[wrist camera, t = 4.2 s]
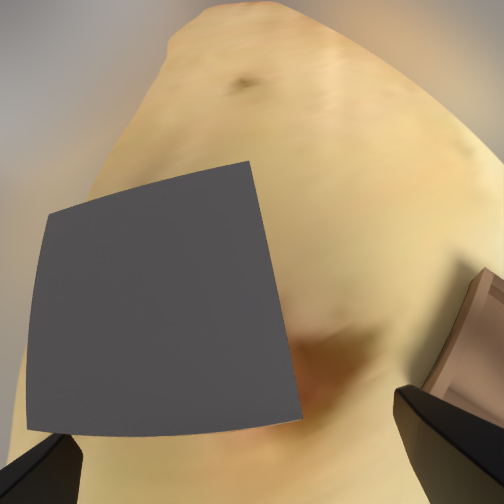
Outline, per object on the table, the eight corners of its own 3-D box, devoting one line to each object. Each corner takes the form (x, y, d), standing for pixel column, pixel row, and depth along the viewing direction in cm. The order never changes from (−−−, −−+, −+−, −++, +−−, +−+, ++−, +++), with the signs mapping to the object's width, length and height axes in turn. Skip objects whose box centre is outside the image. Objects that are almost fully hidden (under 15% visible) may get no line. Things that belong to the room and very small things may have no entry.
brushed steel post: (296, 421, 15) (303, 418, 3) (221, 432, 15) (27, 429, 3) (283, 351, 17) (248, 160, 5) (212, 363, 17) (48, 214, 5)
